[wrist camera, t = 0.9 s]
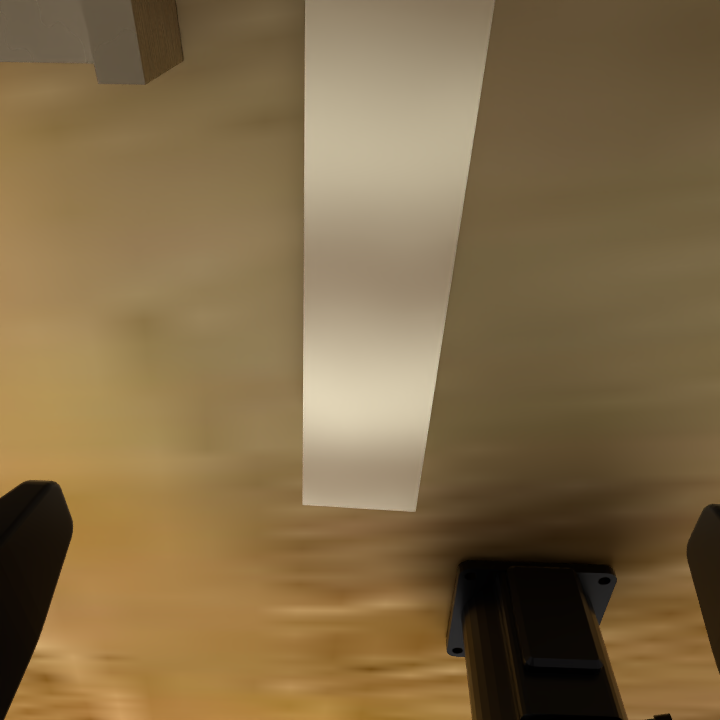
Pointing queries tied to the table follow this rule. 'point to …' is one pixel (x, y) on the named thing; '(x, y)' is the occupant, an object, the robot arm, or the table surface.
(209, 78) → the table surface
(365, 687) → the table surface
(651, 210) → the table surface
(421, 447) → the rail
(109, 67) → the bracket
